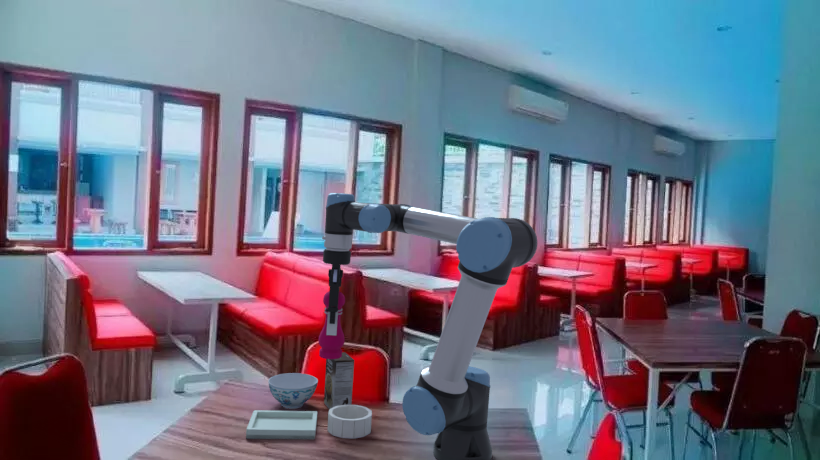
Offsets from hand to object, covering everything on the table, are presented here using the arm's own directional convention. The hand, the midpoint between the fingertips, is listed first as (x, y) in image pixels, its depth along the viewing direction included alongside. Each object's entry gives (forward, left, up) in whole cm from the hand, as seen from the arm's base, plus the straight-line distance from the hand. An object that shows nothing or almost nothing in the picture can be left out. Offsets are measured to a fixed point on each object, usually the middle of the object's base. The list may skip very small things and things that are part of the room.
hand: (331, 331), depth 168 cm
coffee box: (+8, -16, -28) cm, 33 cm away
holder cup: (-5, -3, -27) cm, 28 cm away
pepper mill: (0, 0, -7) cm, 7 cm away
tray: (+10, +7, -27) cm, 30 cm away
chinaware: (+20, -9, -28) cm, 35 cm away
